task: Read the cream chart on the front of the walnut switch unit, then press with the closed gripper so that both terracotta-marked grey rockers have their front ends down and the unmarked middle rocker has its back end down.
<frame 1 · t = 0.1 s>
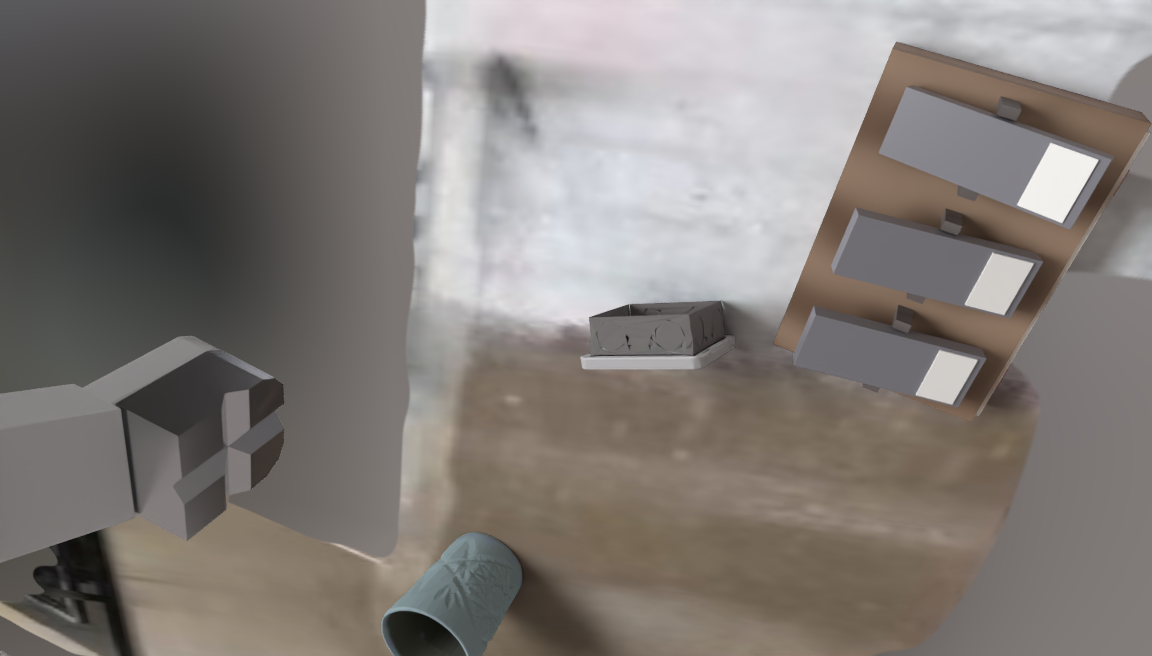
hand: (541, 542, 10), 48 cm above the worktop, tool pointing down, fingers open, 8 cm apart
blue embossed cup: (487, 563, 85), on the worktop
rocker 2: (988, 154, 44), point 5 cm above the worktop, hinge at 15.0°
electrical switch: (674, 313, 63), on the worktop
rocker middle: (933, 264, 48), point 5 cm above the worktop, hinge at -15.0°
rocker 1: (886, 357, 52), point 5 cm above the worktop, hinge at -15.0°
switch unit: (936, 234, 52), on the worktop
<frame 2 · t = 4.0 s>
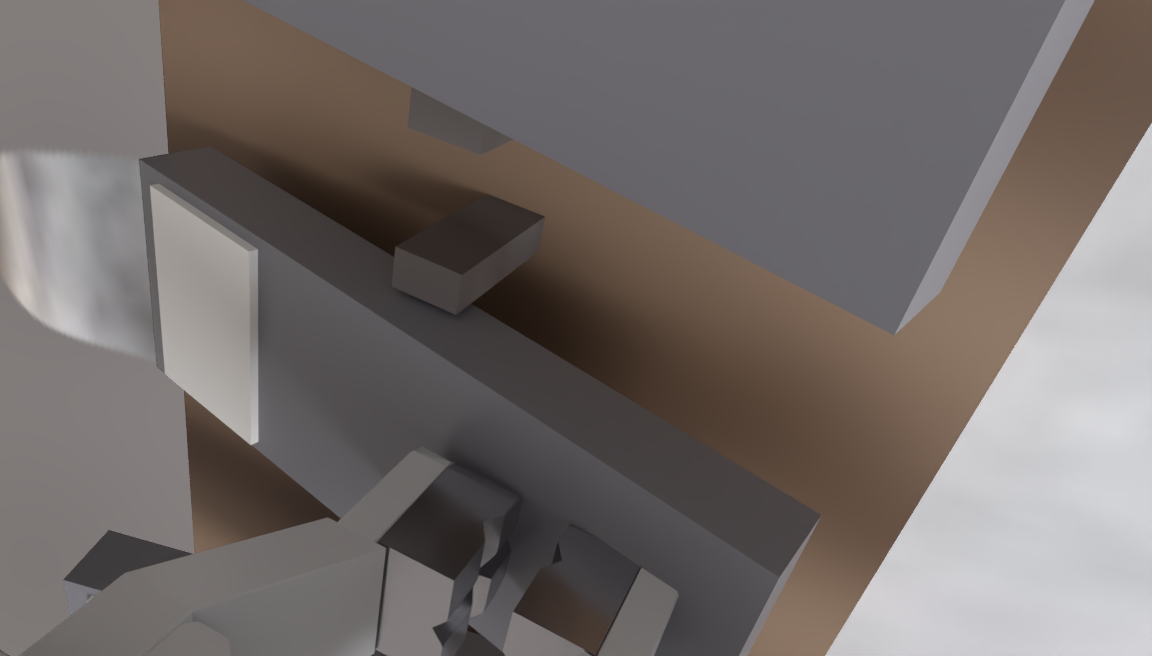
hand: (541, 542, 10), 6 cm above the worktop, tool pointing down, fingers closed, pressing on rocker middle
rocker middle: (404, 424, 11), point 5 cm above the worktop, hinge at -11.5°, touching gripper
switch unit: (563, 283, 16), on the worktop
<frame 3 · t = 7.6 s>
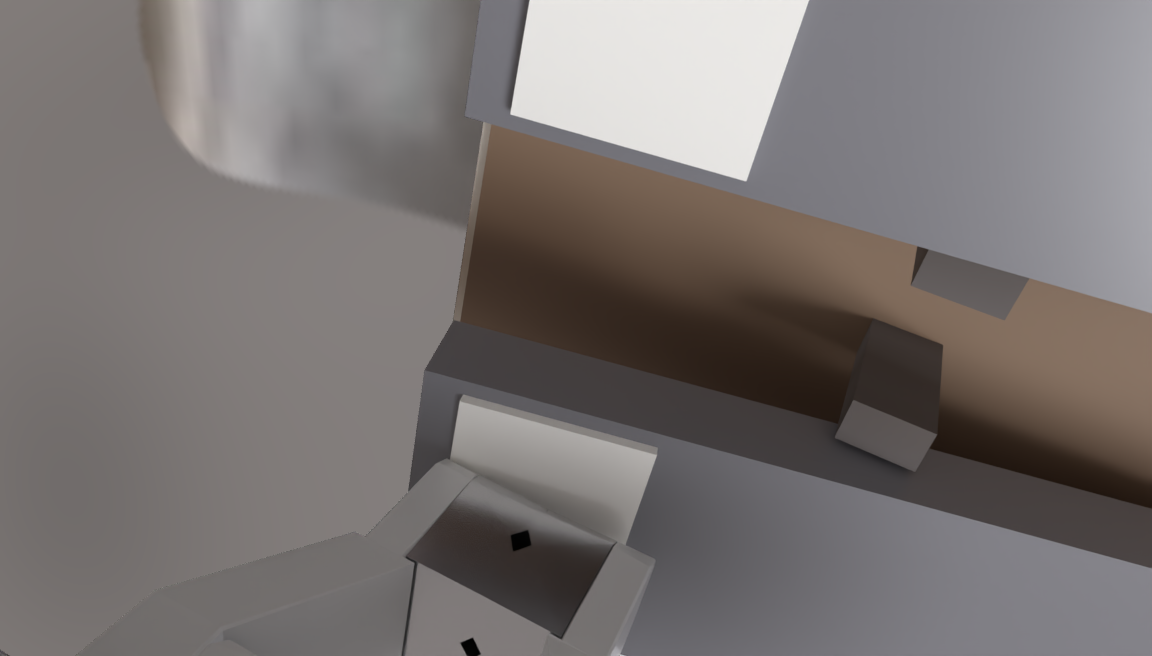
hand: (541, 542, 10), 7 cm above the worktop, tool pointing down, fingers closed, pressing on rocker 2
rocker 2: (812, 573, 11), point 5 cm above the worktop, hinge at 15.0°, touching gripper
rocker middle: (1097, 50, 7), point 5 cm above the worktop, hinge at 11.4°
switch unit: (1048, 0, 12), on the worktop
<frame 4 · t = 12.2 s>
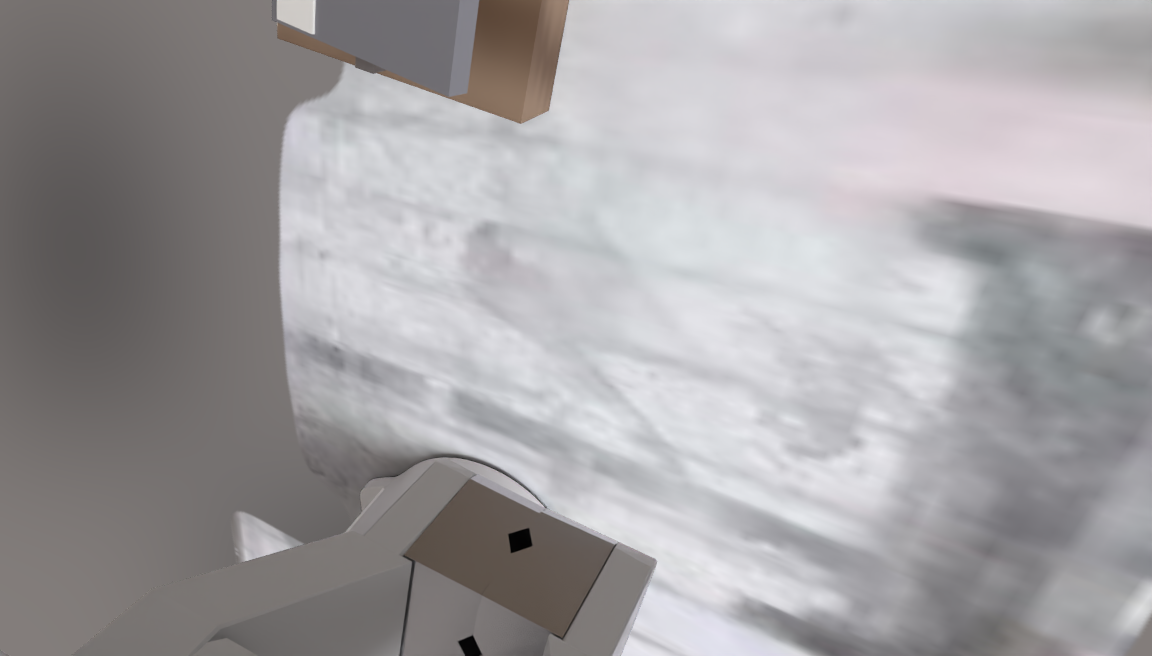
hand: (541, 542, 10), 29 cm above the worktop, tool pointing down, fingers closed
rocker 2: (366, 8, 35), point 5 cm above the worktop, hinge at -9.8°
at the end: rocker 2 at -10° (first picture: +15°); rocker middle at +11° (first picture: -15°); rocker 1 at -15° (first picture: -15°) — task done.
